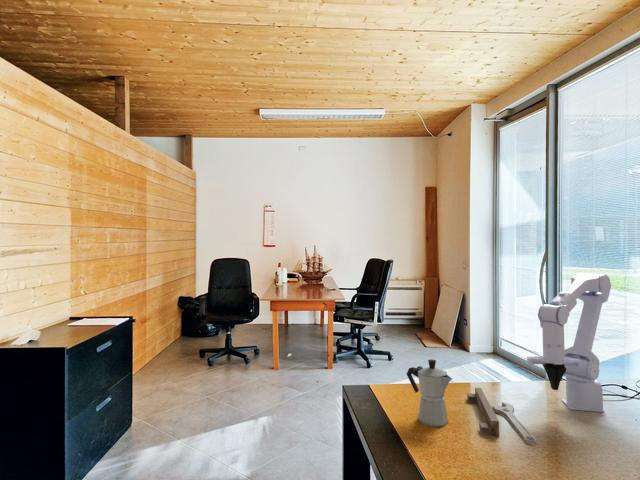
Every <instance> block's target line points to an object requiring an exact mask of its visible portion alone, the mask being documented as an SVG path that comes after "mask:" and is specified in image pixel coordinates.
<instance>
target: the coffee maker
mask: <svg viewBox="0 0 640 480" xmlns="http://www.w3.org/2000/svg"><path fill="white" fill-rule="evenodd" d="M427 362H428V366H429V367H423V366H421V365H419V366H417V367H412V366H411V367H409V368H408V370H407V372H406V376H407V379H408V381H409V382H410V384H411V387H412V388H413V391H414V393H416V394H417V393H418V392H419V391H420V395H422V396H420V402H419V409H418V414H417V415H418V417H417V419H418V420H419V422H420V424H421V425H425V426H428V427H431V428H441V427H443V428H444V427H445V426H446V425H447V424H448V423H449V419H448V414H447V408H446V407H447V406H446V401H445V399H444V397H445V393H446V388H447V387H448V385H449V384H450V382H451V381H452V380H453V377H451V376H449V375H448V373H447V371H446V370H443V369H440V368H437V367H436V363H437V360H436V359H428V360H427ZM413 376H415V377H417V378H418V384H419V387H418V385H417V383H416V381H415V378H414V377H413Z"/></svg>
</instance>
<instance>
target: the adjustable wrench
mask: <svg viewBox="0 0 640 480" xmlns="http://www.w3.org/2000/svg"><path fill="white" fill-rule="evenodd" d="M492 409H493V411H494V413H496V414H499V415H501V414H502V415H501V416H503V415H504V416H503V417H505V419H508V420H507V421H508V422H509V424H510V425H511V426H512V427H513V428H514V430H515V432H517V433H518V435H519V436H520V437H521V439H522V440H523V441H524V442H525V443H526V444H527V445H532V446H533V445H536V444H537V440H536V438H535V436H534V435H533V434H532V433H531V432H530V431H529V430H528V428H527V427H526V426H525V425H524V424H523V423H522V422H521V421H520V420H519V419H518V418H517V417H516V416H515V414H514V411H515V407H514V405H512V404H511V403H508V402H504V401H503V402H501V406H500V405H498V404H497V403H496V402H495V403H493V404H492Z"/></svg>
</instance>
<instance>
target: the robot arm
mask: <svg viewBox="0 0 640 480" xmlns="http://www.w3.org/2000/svg"><path fill="white" fill-rule="evenodd" d="M570 282H571V283H570V285H569V286H568V288H567V289H566V290H565V291H560V292H559V293H558V294H557V295H556V296H555V297H553V299H551V301H549V303H547V304H546V303H545V304H543V305H541V306H539V309H538V313H537V318H538V321H539V323H540V324H539V326H540V328H541V329H542V355H541V356H540V355H539V356H538V355H537V356H536V355H535V356H526V363H527V364H528V365H531V366H533V365H542V367H543V369H544V370H545V373H546V375H547V378H548V381H549V384H550V385H549V386H550V388H551V389H552V390H553V391H559V387H560V383H561V381H562V379H563V377H565V398H561V401H562V402H563V403H564V405H566V406H567V407H568V408H569V409H570V410H572V411H573V410H574V411H587V412H597V413H600V412H601V413H602V412H603V413H604V412H605V410H604V394H603V393H604V392H603V388H602V383H601V382H600V380H598V378H599V375H600V359H599V357H598V356H597V355H596V354H595V353H594V352H593V351H592V350H593V345H594V340H595V336H596V332H597V329H598V324H599V320H600V317H601V310H602V307H603V304H604V303H606V302H608V300H609V297H610V292H611V288H612V284H611V279H610V277H609V276H608V275H607V274H606V273H603V274H601V273H599V274H596V273H579V272H575V273H573V275H572V276H571V280H570ZM577 299H579V300H580V301H582V302H583V305H582V306H583V307H582V310H581V313H580V318H579V322H578V326H577V331H576V333H575V338H574V341H573V342H574V343H573V345H572V346H570V347H568V348H565V347H566V346H565V325H566V324H567V322H568V319H569V317H570V314H571V313H570V312H571V311H572V310H573V309H574V308H575V307H576V306H577V303H578V301H577Z"/></svg>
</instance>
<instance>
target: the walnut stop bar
mask: <svg viewBox="0 0 640 480" xmlns="http://www.w3.org/2000/svg"><path fill="white" fill-rule="evenodd" d="M466 398H467V399H466V400H467V401H468V404H469V403H471V404H476V405H477V407H478V410H479V411H480V413H481V416H482V418H483V420H484V422H479V431H480V433H481V435H483V436H492V437H493V436H494V437H500V421H499V419H498V417H497V415H496V414H495V412H494V410H493V406H491V403H490V402H489V400H488V397H487V396H486V394H485V393H484V391H483V388H482V387H474V393H469V392H468V393H467V397H466Z"/></svg>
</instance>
